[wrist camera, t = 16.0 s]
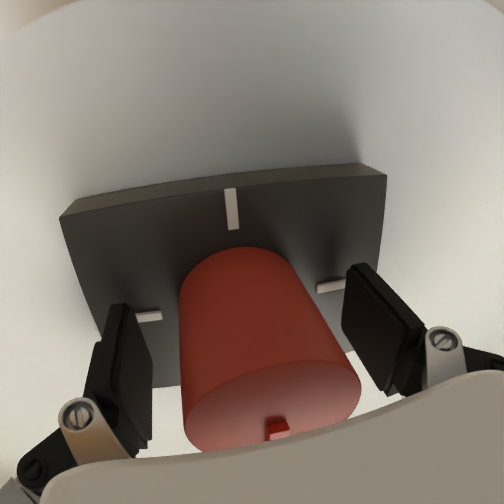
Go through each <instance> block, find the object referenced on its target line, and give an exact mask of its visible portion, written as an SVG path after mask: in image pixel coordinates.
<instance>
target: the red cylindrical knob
mask: <svg viewBox="0 0 504 504" xmlns="http://www.w3.org/2000/svg"><path fill="white" fill-rule="evenodd" d="M178 328H179V359H180V380H181V397H182V411H183V424H184V431H185V434H186V436H187V438H188V440H189V441H190V442H191V443H192V444H193V445H194V446H195V447H196V448H198V449H199V450H201V451H203V452H208V451H215V450H222V449H228V448H234V447H240V446H245V445H251V444H256V443H261V442H265V441H270V440H275V439H279V438H283V437H287V436H292V435H296V434H299V433H303V432H307V431H311V430H314V429H318V428H321V427H325V426H328V425H331V424H335V423H338V422H341V421H344V420H347V419H348V417H349V416H350V415H351V414H352V412H353V411H354V409H355V408H356V406H357V404H358V402H359V399H360V396H361V382H360V380H359V377H358V375H357V373H356V372H355V370H354V368H353V367H352V365H351V363H350V361H349V360H348V358H347V356H346V355H345V353H344V351H343V350H342V348H341V346H340V345H339V343H338V341H337V339H336V338H335V336H334V334H333V333H332V331H331V329H330V328H329V326H328V324H327V323H326V321H325V319H324V318H323V316H322V314H321V313H320V311H319V309H318V308H317V306H316V304H315V303H314V301H313V299H312V298H311V296H310V295H309V293H308V291H307V290H306V288H305V286H304V285H303V283H302V281H301V280H300V278H299V277H298V275H297V273H296V272H295V270H294V269H293V267H292V266H291V265H290V264H289V263H288V262H287V261H286V260H285V259H284V258H282V257H281V256H279V255H278V254H276V253H274V252H271V251H268V250H266V249H261V248H256V247H236V248H230V249H226V250H223V251H220V252H218V253H215V254H213V255H211V256H209V257H207V258H206V259H204V260H203V261H202V262H200V263H199V264H198V265H197V266H196V267H194V268H193V269H192V270H191V272H190V273H189V274H188V276H187V277H186V279H185V280H184V282H183V284H182V287H181V289H180V293H179V297H178Z"/></svg>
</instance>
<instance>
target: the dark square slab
mask: <svg viewBox="0 0 504 504" xmlns="http://www.w3.org/2000/svg"><path fill="white" fill-rule="evenodd" d="M386 186H387V175H386V174H384V173H382V172H379V171H377V170H375V169H373V168H371V167H369V166H366V165H364V164H341V165H324V166H309V167H296V168H284V169H273V170H263V171H253V172H244V173H235V174H226V175H218V176H210V177H203V178H196V179H189V180H182V181H175V182H168V183H162V184H156V185H150V186H144V187H138V188H133V189H127V190H122V191H116V192H111V193H106V194H101V195H96V196H91V197H86V198H82V199H77V200H75V201H74V202H73V203H72V204H71V205H70V206H69V207H68V208H67V209H66V210H65V211H64V213H63V214H62V215H61V216H60V217H59V221H60V224H61V228H62V231H63V235H64V238H65V241H66V245H67V248H68V251H69V254H70V257H71V260H72V263H73V266H74V269H75V272H76V275H77V277H78V280H79V283H80V286H81V288H82V291H83V294H84V296H85V299H86V301H87V304H88V306H89V309H90V311H91V314H92V316H93V318H94V321H95V323H96V326H97V328H98V330H99V332H100V335H101V337H102V335H103V331H104V327H105V323H106V319H107V316H108V312H109V308H110V305H111V304H117V303H124V302H126V303H127V305H128V306H132V307H133V309H134V312H135V315H136V317H137V320H138V323H139V326H140V329H141V331H142V334H143V337H144V339H145V342H146V345H147V347H148V350H149V352H150V355H151V358H152V362H153V382H152V388H161V387H171V386H179V385H181V380H180V359H179V328H178V297H179V293H180V289H181V287H182V284H183V282H184V280H185V279H186V277H187V276H188V274H189V273H190V272H191V270H192V269H193V268H194V267H196V266H197V265H198V264H199V263H200V262H202V261H203V260H204V259H206V258H207V257H209V256H211V255H213V254H215V253H218V252H220V251H223V250H226V249H230V248H236V247H256V248H261V249H266V250H268V251H271V252H274V253H276V254H278V255H279V256H281V257H282V258H284V259H285V260H286V261H287V262H288V263H289V264H290V265H291V266H292V267H293V269H294V270H295V272H296V273H297V275H298V277H299V278H300V280H301V281H302V283H303V285H304V286H305V288H306V290H307V291H308V293H309V295H310V296H311V298H312V299H313V301H314V303H315V304H316V306H317V308H318V309H319V311H320V313H321V314H322V316H323V318H324V319H325V321H326V323H327V324H328V326H329V328H330V329H331V331H332V333H333V334H334V336H335V338H336V339H337V341H338V343H339V345H340V346H341V348H342V350H343V351H344V353H346V352H350V351H354V349H353V347H352V345H351V344H350V342H349V341H348V339H347V338H346V336H345V334H344V333H343V331H342V329H341V316H342V308H343V299H344V291H345V281H346V272H347V270H348V269H350V267H351V265H352V264H357V263H363V262H366V263H367V264H368V265H369V266H370V267H371V268H372V269H373V270H374V271H375V272H377V265H378V259H379V251H380V244H381V236H382V228H383V219H384V209H385V199H386Z"/></svg>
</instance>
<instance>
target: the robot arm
mask: <svg viewBox="0 0 504 504" xmlns="http://www.w3.org/2000/svg"><path fill="white" fill-rule="evenodd" d="M424 325H425V324H424V323H423V322H422V321H421V320H420V319H419V317H418V316H417V315H416V314H415V313H414V312H413V311H412V310H411V309H410V308H409V307H408V305H407V304H406V303H405V302H404V301H403V300H402V299H401V298H400V297H399V296H398V295H397V294H396V293H395V292H394V290H393V289H392V288H391V287H390V286H389V285H388V284H387V283H386V282H385V281H384V280H383V279H382V278H381V277H380V276H379V275H378V274H377V273H376V272H375V271H374V270H373V269H372V268H371V267H370V266H369V265H368V264H367V263H366V262H363V263H357V264H352V265H351V267H350V269H348V270H347V272H346V281H345V291H344V299H343V308H342V316H341V329H342V331H343V333H344V334H345V336H346V338H347V339H348V341H349V342H350V344H351V345H352V347H353V349H354V350H355V352H356V353H357V355H358V357H359V358H360V360H361V362H362V363H363V365H364V366H365V368H366V370H367V371H368V373H369V375H370V376H371V378H372V379H373V381H374V383H375V384H376V386H377V388H378V389H379V390H380V391H384V393H385V394H386V396H387V397H389V396H391V395H394V394H396V393H400V395H402V400H399V401H397V402H394V403H392V404H389V405H387V406H384V407H381V408H379V409H376V410H373V411H371V412H368V413H365V414H362V415H359V416H356V417H353V418H350V419H347V420H344V421H341V422H338V423H335V424H331V425H328V426H325V427H321V428H318V429H314V430H311V431H307V432H303V433H299V434H296V435H292V436H287V437H283V438H279V439H275V440H270V441H265V442H261V443H256V444H251V445H245V446H240V447H234V448H228V449H222V450H215V451H208V452H201V453H192V454H183V455H174V456H163V457H150V458H136V455H137V454H138V453H139V449H148V446H147V441H148V440H152V382H153V362H152V358H151V355H150V352H149V350H148V347H147V345H146V342H145V339H144V337H143V334H142V331H141V329H140V326H139V323H138V320H137V317H136V315H135V312H134V309H133V307H132V306H128V305H127V303H126V302H124V303H117V304H111V305H110V308H109V312H108V316H107V319H106V323H105V327H104V331H103V335H102V339H101V341H99V342H96V343H95V346H94V349H93V353H92V357H91V362H90V366H89V370H88V375H87V379H86V384H85V389H84V394H83V397H80V398H75V399H72V400H70V401H69V402H67V403H66V404H65V405H64V406H63V407H62V408H61V410H60V412H59V416H58V422H59V426H60V427H59V428H58V429H57V430H56V431H54V432H53V433H52V434H51V435H49V436H48V437H47V438H46V439H44V440H43V441H42V442H41V443H39V444H38V445H37V446H35V447H34V448H33V449H32V450H30V451H29V452H28V453H27V454H25V455H24V456H23V457H22V458H21V459H20V461H19V463H18V465H17V477H16V478H15V479H14V478H12V477H11V478H10V479H9V480H8V481H7V483H6V484H5V485H4V486H3V487H2V488H1V489H0V504H504V357H502V356H500V355H497V354H493V353H489V352H485V351H481V350H477V349H473V348H469V347H465V346H463V345H462V341H461V338H460V336H459V335H458V334H457V333H456V332H455V331H454V330H452V329H450V328H448V327H443V326H436V327H432V328H430V329H429V330H427V329H426V327H425V326H424Z"/></svg>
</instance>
